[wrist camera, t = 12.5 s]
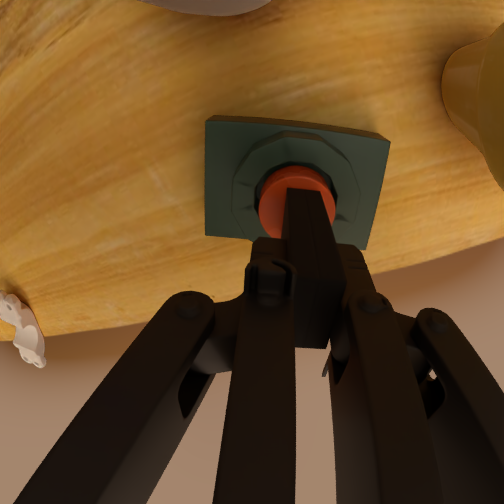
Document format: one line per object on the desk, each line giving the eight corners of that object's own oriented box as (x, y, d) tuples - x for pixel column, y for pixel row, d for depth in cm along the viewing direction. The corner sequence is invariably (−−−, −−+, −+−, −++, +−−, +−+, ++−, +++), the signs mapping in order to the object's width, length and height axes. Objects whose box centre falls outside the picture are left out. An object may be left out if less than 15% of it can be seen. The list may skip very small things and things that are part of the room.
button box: (211, 219, 21) (198, 251, 17) (213, 115, 17) (197, 125, 14) (358, 233, 21) (372, 267, 17) (379, 133, 17) (403, 149, 13)
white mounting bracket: (23, 287, 26) (1, 280, 26) (11, 302, 24) (-11, 293, 24) (52, 357, 33) (31, 348, 33) (44, 371, 31) (23, 361, 31)
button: (257, 226, 17) (255, 242, 15) (262, 161, 15) (261, 172, 13) (324, 232, 17) (328, 249, 15) (335, 169, 15) (342, 181, 13)
